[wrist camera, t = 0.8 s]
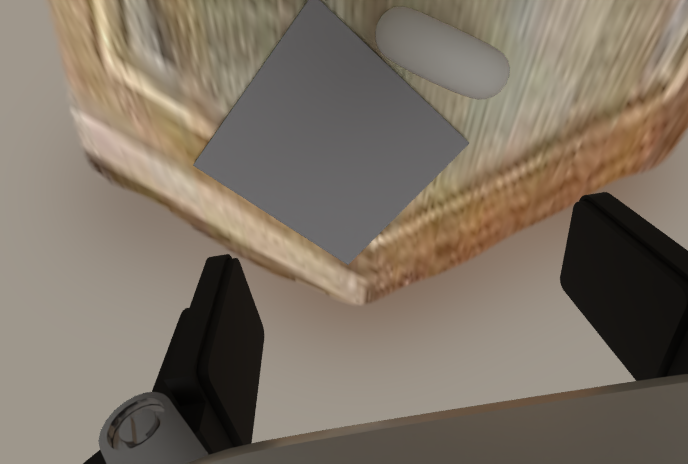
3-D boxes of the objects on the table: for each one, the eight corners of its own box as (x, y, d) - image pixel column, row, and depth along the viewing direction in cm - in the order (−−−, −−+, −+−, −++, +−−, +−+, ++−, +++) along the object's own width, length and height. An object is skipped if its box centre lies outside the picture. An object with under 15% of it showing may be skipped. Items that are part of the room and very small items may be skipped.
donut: (358, 41, 32) (378, 61, 24) (376, -6, 31) (405, -2, 22) (464, 88, 35) (516, 121, 26) (485, 47, 33) (549, 69, 25)
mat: (312, -7, 30) (313, -7, 29) (466, 140, 37) (469, 143, 37) (195, 161, 36) (193, 165, 35) (347, 260, 43) (347, 264, 43)
